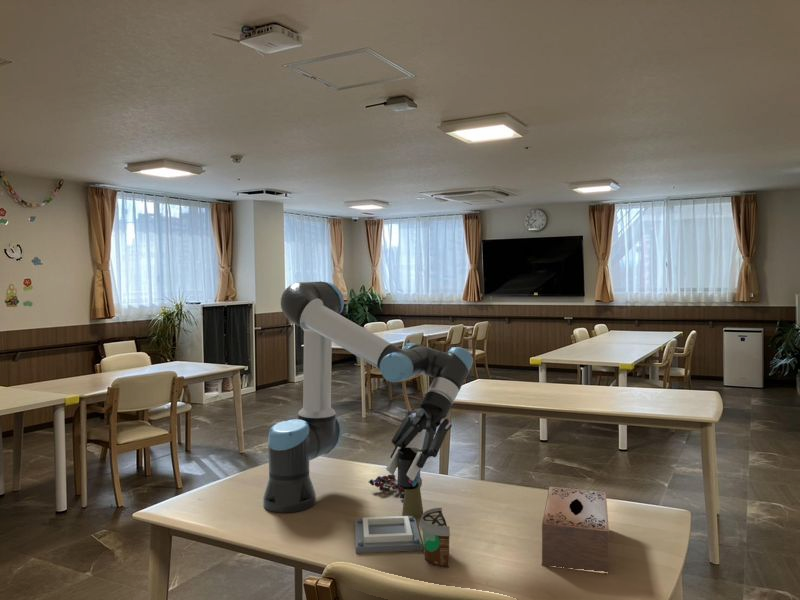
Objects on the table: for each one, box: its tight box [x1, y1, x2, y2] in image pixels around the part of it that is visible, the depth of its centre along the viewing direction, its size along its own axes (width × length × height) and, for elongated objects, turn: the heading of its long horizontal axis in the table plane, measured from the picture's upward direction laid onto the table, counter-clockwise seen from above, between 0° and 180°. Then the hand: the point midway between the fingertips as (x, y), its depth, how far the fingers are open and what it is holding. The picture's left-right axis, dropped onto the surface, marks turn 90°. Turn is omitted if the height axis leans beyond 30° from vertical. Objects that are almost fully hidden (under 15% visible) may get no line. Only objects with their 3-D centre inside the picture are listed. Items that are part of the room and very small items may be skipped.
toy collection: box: [367, 473, 405, 500], centre depth 189 cm, size 15×14×5 cm
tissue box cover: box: [541, 486, 610, 572], centre depth 150 cm, size 26×14×10 cm, turn 163°
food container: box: [419, 507, 451, 569], centre depth 144 cm, size 12×6×10 cm, turn 5°
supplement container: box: [396, 446, 422, 490], centre depth 154 cm, size 6×6×9 cm
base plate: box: [354, 515, 423, 554], centre depth 156 cm, size 16×16×3 cm
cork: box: [401, 476, 424, 520], centre depth 170 cm, size 6×6×11 cm
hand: (399, 474), depth 151 cm, fingers closed on supplement container, 6 cm apart
